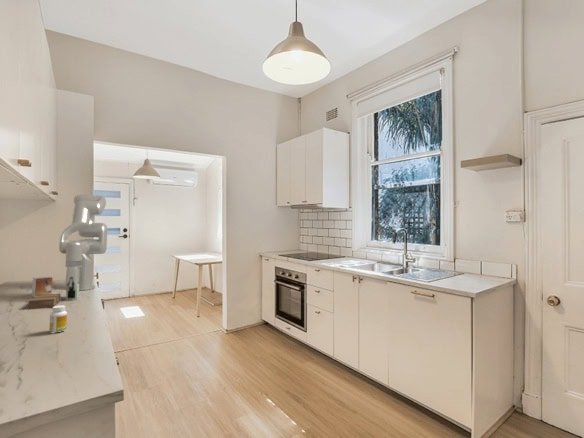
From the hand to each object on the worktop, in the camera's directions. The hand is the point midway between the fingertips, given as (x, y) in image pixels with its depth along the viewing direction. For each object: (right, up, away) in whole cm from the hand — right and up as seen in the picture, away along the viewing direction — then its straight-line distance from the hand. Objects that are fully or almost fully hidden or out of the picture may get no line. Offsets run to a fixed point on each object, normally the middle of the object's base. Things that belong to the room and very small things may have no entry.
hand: (72, 296), depth 175 cm
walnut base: (-5, -1, -13) cm, 14 cm away
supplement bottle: (+30, -1, -51) cm, 59 cm away
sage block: (0, -2, 0) cm, 2 cm away
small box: (-22, -1, +6) cm, 23 cm away
